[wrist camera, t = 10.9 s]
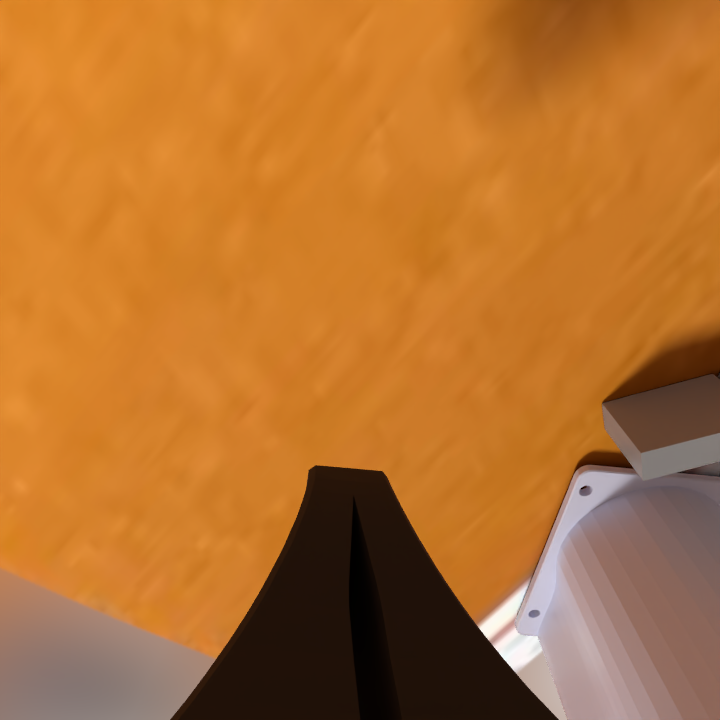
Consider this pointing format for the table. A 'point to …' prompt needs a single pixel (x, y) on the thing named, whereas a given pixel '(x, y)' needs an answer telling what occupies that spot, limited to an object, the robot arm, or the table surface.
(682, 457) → the bent grey bar frame
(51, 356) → the table surface
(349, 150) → the table surface
